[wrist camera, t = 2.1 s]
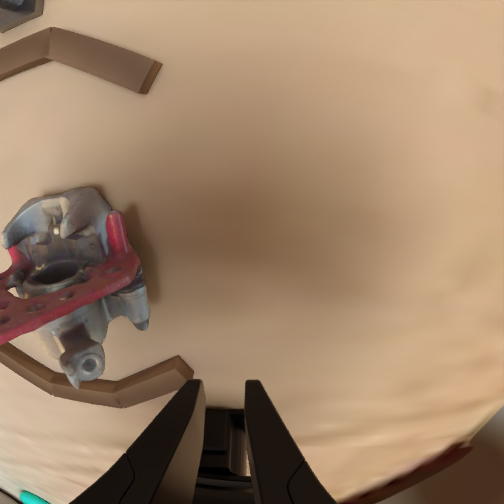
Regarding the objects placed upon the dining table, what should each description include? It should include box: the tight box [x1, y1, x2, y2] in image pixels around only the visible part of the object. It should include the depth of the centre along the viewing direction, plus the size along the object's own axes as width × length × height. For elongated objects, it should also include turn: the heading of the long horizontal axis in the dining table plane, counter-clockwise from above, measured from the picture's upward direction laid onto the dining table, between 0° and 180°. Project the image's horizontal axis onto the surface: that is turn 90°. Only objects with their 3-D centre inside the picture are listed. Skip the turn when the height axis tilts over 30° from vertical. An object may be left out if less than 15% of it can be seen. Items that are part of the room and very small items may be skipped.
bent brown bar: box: [0, 27, 194, 408], centre depth 20 cm, size 30×26×2 cm
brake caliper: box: [0, 187, 150, 389], centre depth 17 cm, size 11×11×12 cm
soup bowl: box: [0, 491, 19, 504], centre depth 50 cm, size 24×24×7 cm
